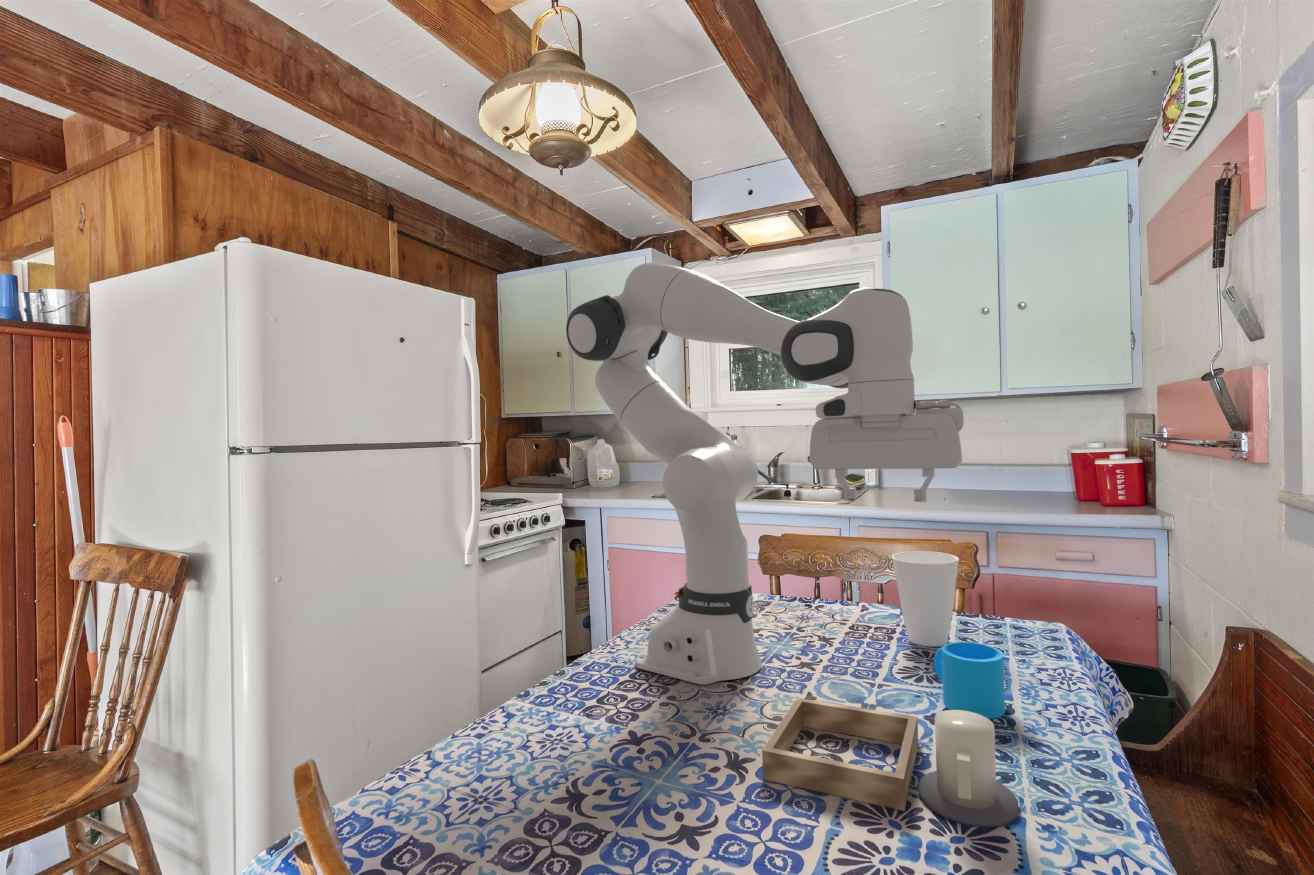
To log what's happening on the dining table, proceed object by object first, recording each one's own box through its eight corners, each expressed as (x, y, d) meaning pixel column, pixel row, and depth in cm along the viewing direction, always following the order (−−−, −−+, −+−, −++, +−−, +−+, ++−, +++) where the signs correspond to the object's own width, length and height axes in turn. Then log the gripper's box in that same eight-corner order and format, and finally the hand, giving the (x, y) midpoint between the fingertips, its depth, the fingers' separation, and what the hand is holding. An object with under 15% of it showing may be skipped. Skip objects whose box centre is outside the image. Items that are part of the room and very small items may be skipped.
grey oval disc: (914, 813, 69) (914, 807, 69) (922, 767, 78) (922, 762, 78) (1020, 836, 65) (1020, 831, 65) (1016, 785, 73) (1016, 780, 73)
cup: (893, 647, 119) (890, 562, 119) (895, 627, 130) (892, 549, 130) (963, 653, 114) (960, 565, 114) (960, 633, 125) (957, 551, 125)
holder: (763, 779, 77) (762, 750, 77) (797, 721, 91) (796, 697, 91) (904, 810, 70) (903, 779, 70) (918, 743, 84) (917, 716, 84)
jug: (938, 773, 75) (936, 706, 75) (995, 784, 73) (993, 714, 73) (934, 815, 68) (931, 740, 67) (998, 829, 65) (995, 751, 65)
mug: (1018, 713, 91) (1017, 656, 91) (971, 723, 89) (969, 664, 89) (957, 682, 103) (956, 631, 102) (914, 689, 100) (912, 638, 100)
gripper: (963, 399, 88) (966, 499, 88) (815, 407, 98) (818, 497, 98) (962, 398, 83) (965, 505, 83) (804, 406, 92) (808, 502, 92)
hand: (884, 500), depth 90 cm, fingers open, 8 cm apart
